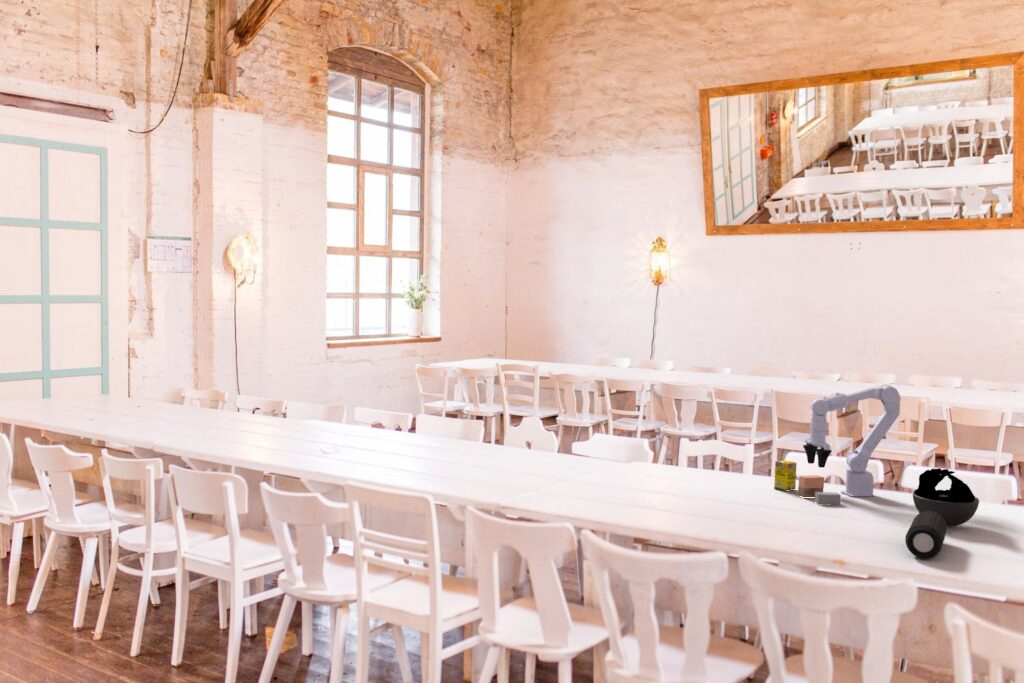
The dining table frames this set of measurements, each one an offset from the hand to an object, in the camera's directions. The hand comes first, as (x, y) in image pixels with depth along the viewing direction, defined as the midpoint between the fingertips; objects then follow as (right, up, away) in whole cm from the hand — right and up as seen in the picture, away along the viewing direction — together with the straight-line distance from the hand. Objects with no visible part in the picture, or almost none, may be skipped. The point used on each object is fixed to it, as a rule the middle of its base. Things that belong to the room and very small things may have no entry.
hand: (816, 465), depth 359 cm
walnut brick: (-5, -11, -9) cm, 15 cm away
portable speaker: (+7, -15, -78) cm, 80 cm away
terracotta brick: (-5, -7, -9) cm, 12 cm away
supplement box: (-11, -10, +4) cm, 15 cm away
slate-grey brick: (-2, -12, -19) cm, 22 cm away
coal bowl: (+27, -14, -49) cm, 57 cm away
